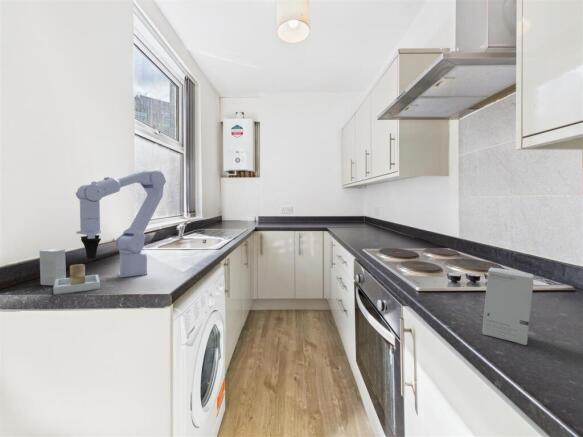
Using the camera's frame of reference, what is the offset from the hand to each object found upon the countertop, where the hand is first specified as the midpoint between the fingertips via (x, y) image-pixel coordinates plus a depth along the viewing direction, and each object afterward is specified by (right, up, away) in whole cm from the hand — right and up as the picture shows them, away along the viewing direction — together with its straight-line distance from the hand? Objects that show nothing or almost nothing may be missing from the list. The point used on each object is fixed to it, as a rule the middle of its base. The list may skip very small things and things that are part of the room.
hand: (91, 256), depth 102 cm
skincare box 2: (+120, -13, -37) cm, 126 cm away
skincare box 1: (-12, -10, -1) cm, 16 cm away
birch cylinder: (-1, -9, -5) cm, 11 cm away
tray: (-1, -10, -5) cm, 11 cm away
